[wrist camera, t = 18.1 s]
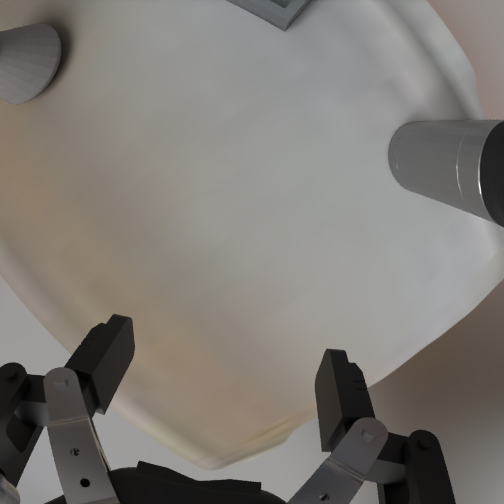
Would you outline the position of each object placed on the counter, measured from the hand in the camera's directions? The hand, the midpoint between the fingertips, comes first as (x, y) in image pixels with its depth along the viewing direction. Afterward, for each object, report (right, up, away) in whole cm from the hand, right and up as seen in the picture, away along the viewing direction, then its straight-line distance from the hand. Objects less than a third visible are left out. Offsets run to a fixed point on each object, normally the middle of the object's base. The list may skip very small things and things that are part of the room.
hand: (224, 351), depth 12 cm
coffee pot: (-32, +32, +16) cm, 48 cm away
